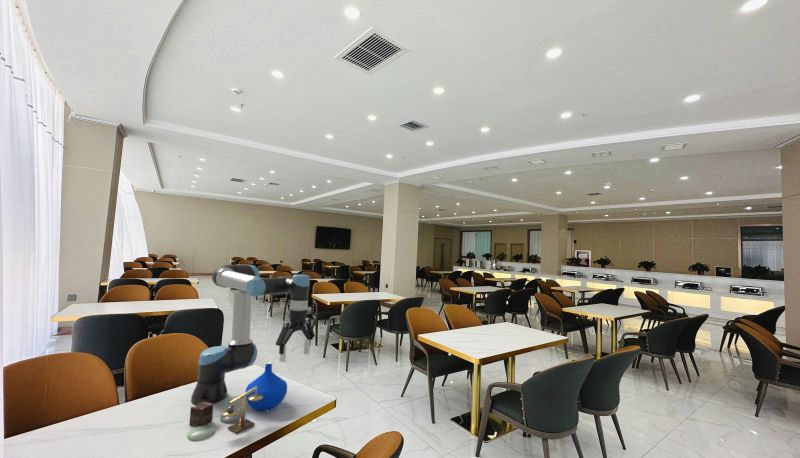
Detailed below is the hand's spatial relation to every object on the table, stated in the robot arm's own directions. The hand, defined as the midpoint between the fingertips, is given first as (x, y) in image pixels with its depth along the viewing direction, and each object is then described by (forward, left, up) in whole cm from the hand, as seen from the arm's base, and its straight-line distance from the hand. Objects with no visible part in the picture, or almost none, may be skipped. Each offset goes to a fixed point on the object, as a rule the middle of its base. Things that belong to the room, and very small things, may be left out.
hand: (294, 357), depth 143 cm
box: (-26, -25, -27) cm, 44 cm away
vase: (-18, 0, -26) cm, 32 cm away
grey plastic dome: (-20, -15, -26) cm, 36 cm away
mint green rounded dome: (-18, -29, -26) cm, 43 cm away
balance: (-10, -17, -26) cm, 33 cm away
